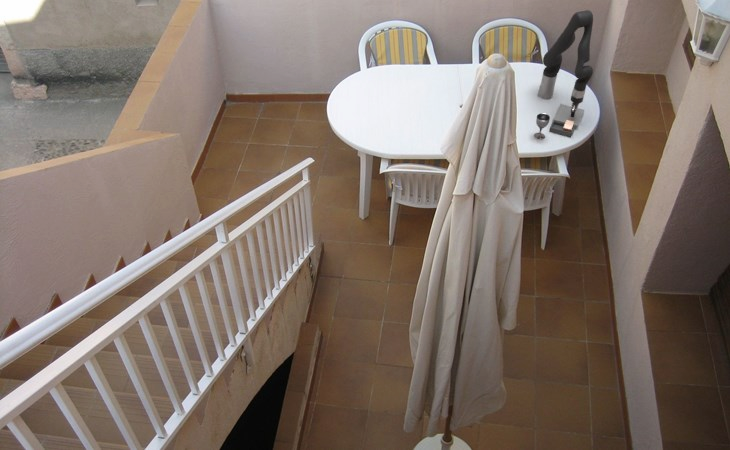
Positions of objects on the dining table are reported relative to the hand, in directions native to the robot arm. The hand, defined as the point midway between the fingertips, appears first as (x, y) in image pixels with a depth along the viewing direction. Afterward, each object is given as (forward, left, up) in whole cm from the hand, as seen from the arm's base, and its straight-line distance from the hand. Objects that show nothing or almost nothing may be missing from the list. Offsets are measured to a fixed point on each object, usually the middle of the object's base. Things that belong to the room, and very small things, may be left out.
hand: (572, 116), depth 444 cm
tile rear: (0, -8, -2) cm, 8 cm away
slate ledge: (-3, +3, -4) cm, 6 cm away
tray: (-3, -11, -4) cm, 13 cm away
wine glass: (-15, -23, -5) cm, 28 cm away
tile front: (0, -11, -1) cm, 11 cm away
